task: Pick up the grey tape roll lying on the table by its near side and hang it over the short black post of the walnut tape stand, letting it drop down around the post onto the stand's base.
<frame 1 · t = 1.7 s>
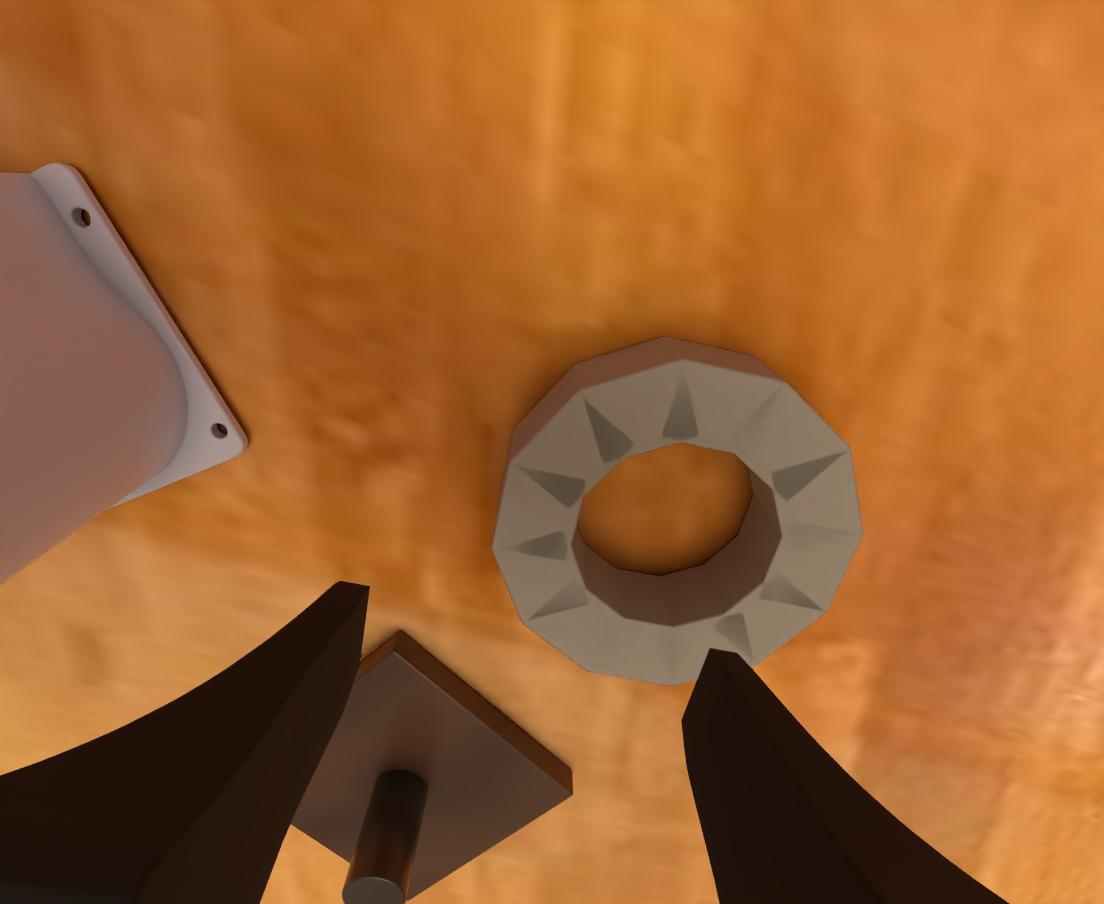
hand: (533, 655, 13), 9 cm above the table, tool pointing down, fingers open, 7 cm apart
tape roll: (660, 497, 22), on the table
tape stand: (407, 764, 27), on the table
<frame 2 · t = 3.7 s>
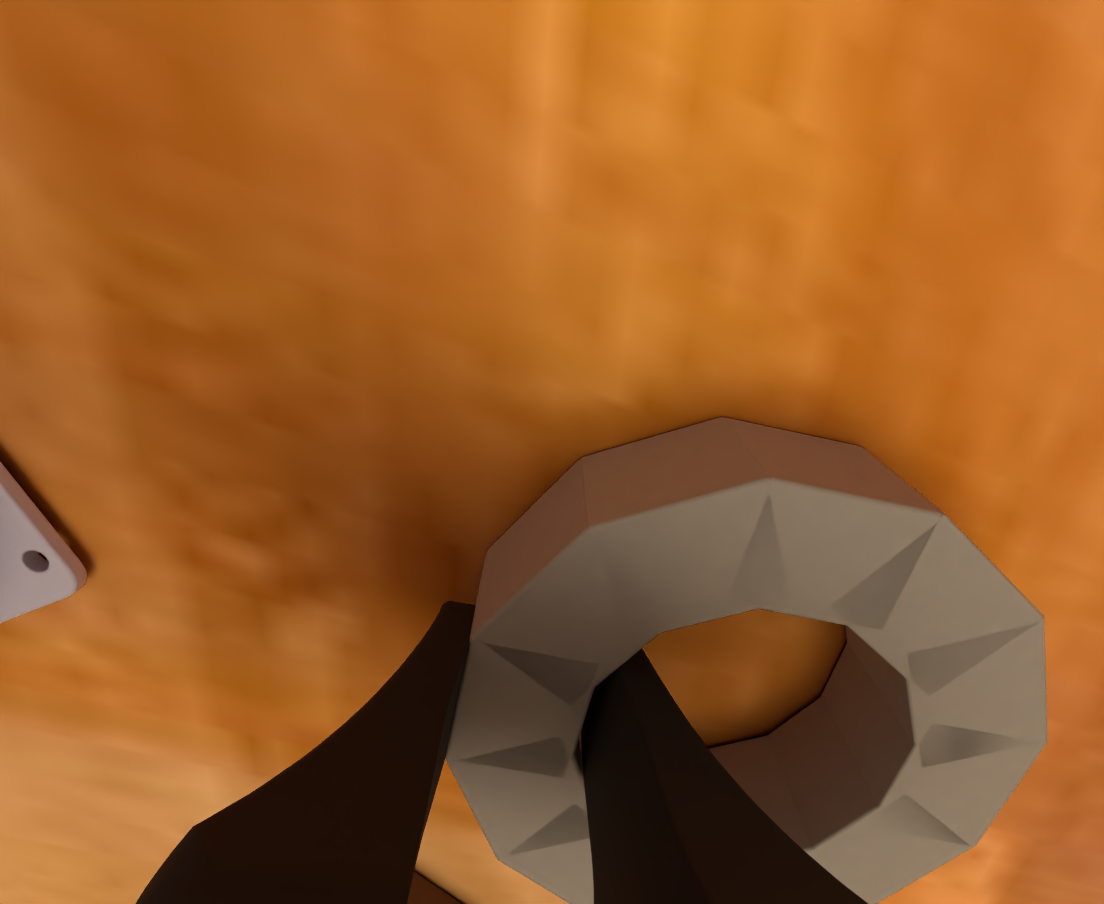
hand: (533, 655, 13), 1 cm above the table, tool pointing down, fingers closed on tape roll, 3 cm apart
tape roll: (707, 646, 15), on the table, touching gripper
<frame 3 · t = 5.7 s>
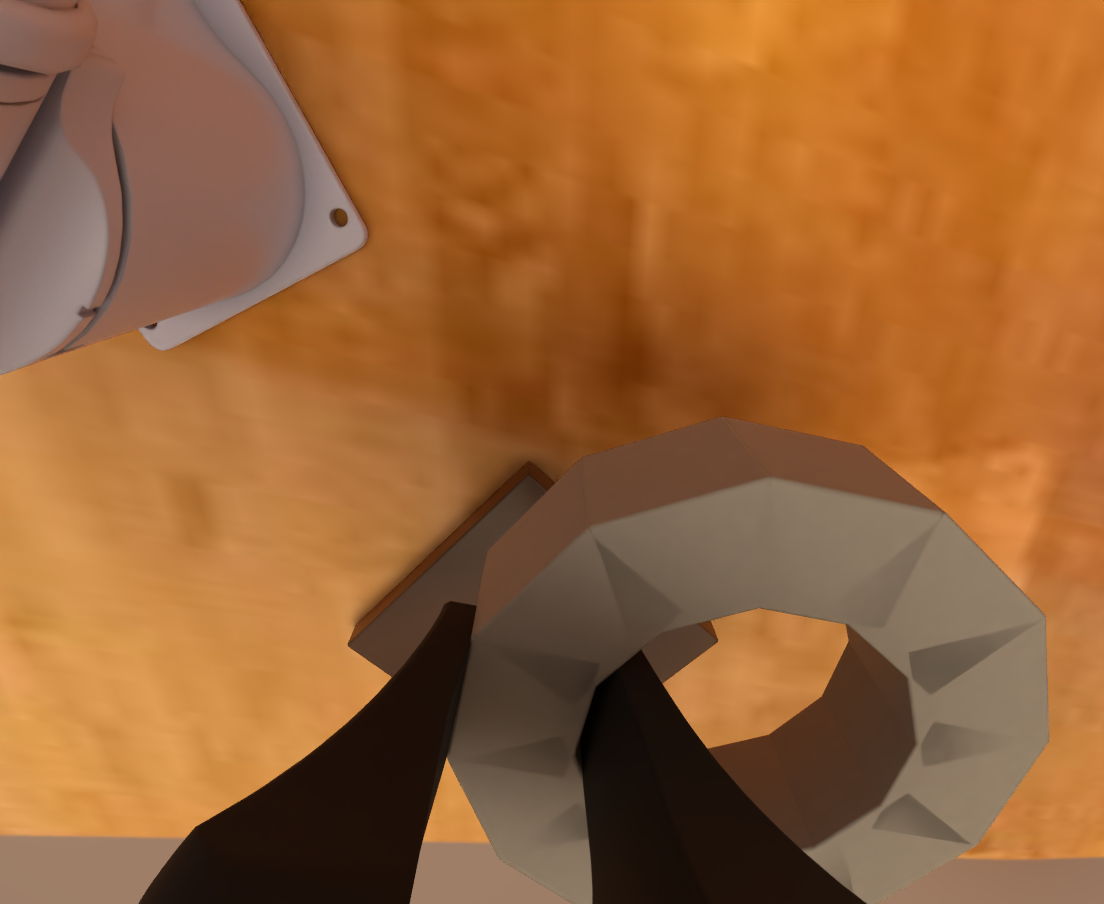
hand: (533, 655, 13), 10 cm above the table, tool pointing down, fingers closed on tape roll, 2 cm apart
tape roll: (709, 645, 15), point 9 cm above the table, touching gripper
tape stand: (533, 623, 25), on the table
when the fingers open (6 cm above the table, at t = 7.8 s): tape roll drops 4 cm, resting on tape stand.
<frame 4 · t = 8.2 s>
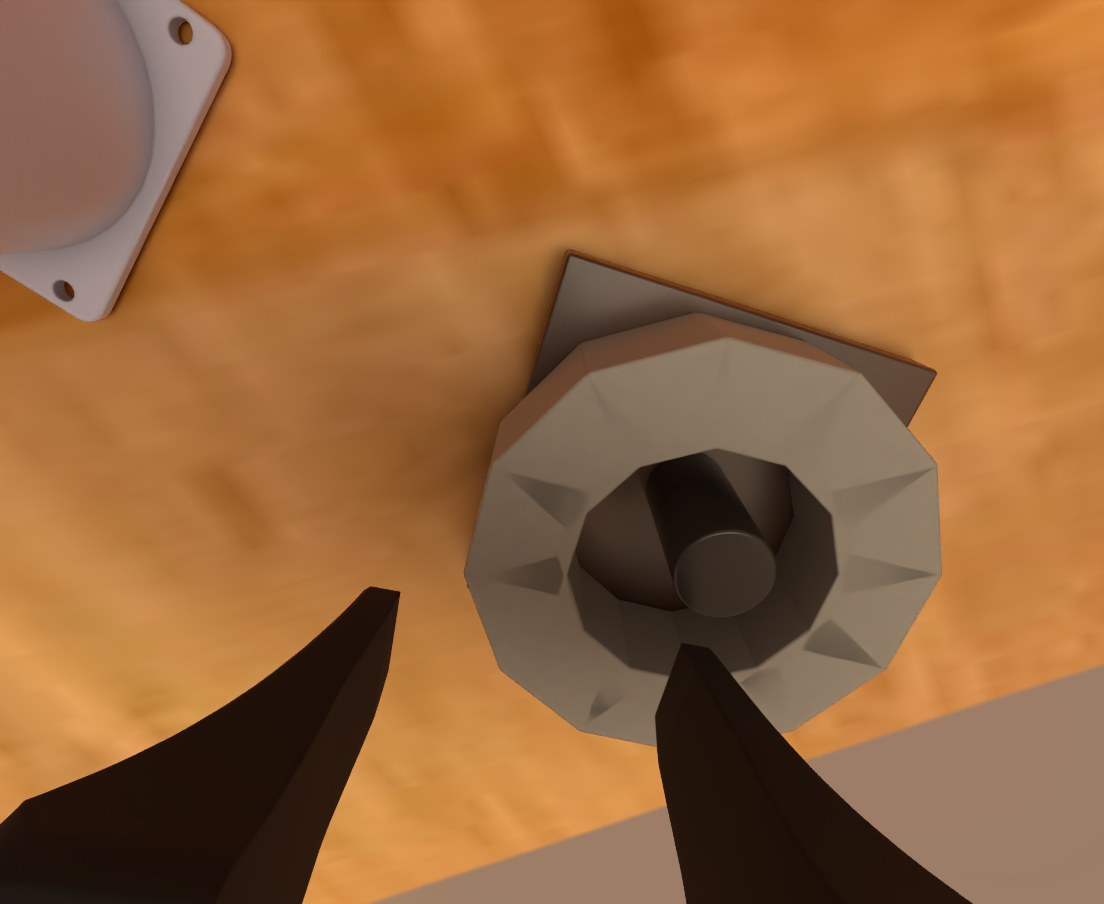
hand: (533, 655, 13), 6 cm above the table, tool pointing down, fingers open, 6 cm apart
tape roll: (679, 515, 18), point 1 cm above the table, touching tape stand
tape stand: (677, 470, 18), on the table
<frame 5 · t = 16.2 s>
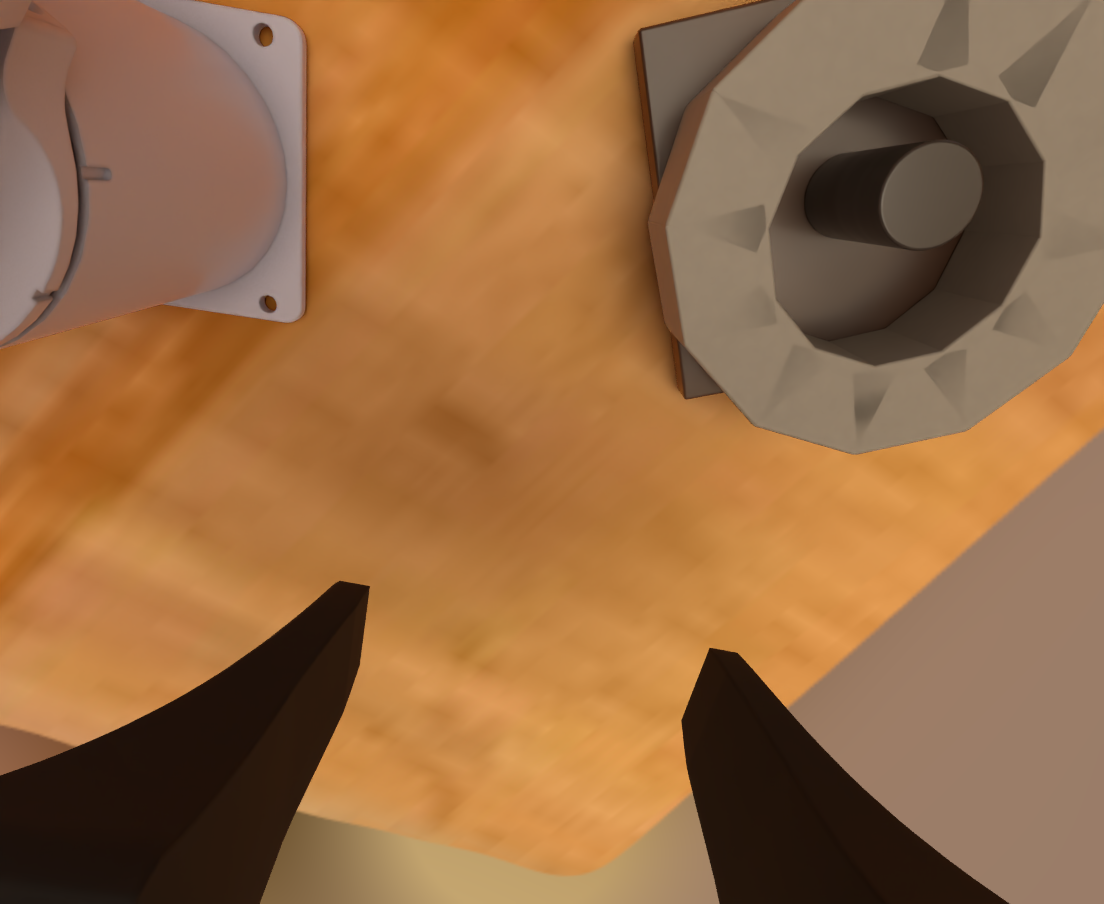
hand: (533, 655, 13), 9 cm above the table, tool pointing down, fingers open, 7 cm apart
tape roll: (849, 227, 18), point 1 cm above the table, touching tape stand
tape stand: (826, 196, 18), on the table
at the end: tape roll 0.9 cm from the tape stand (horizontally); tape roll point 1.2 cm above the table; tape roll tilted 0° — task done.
